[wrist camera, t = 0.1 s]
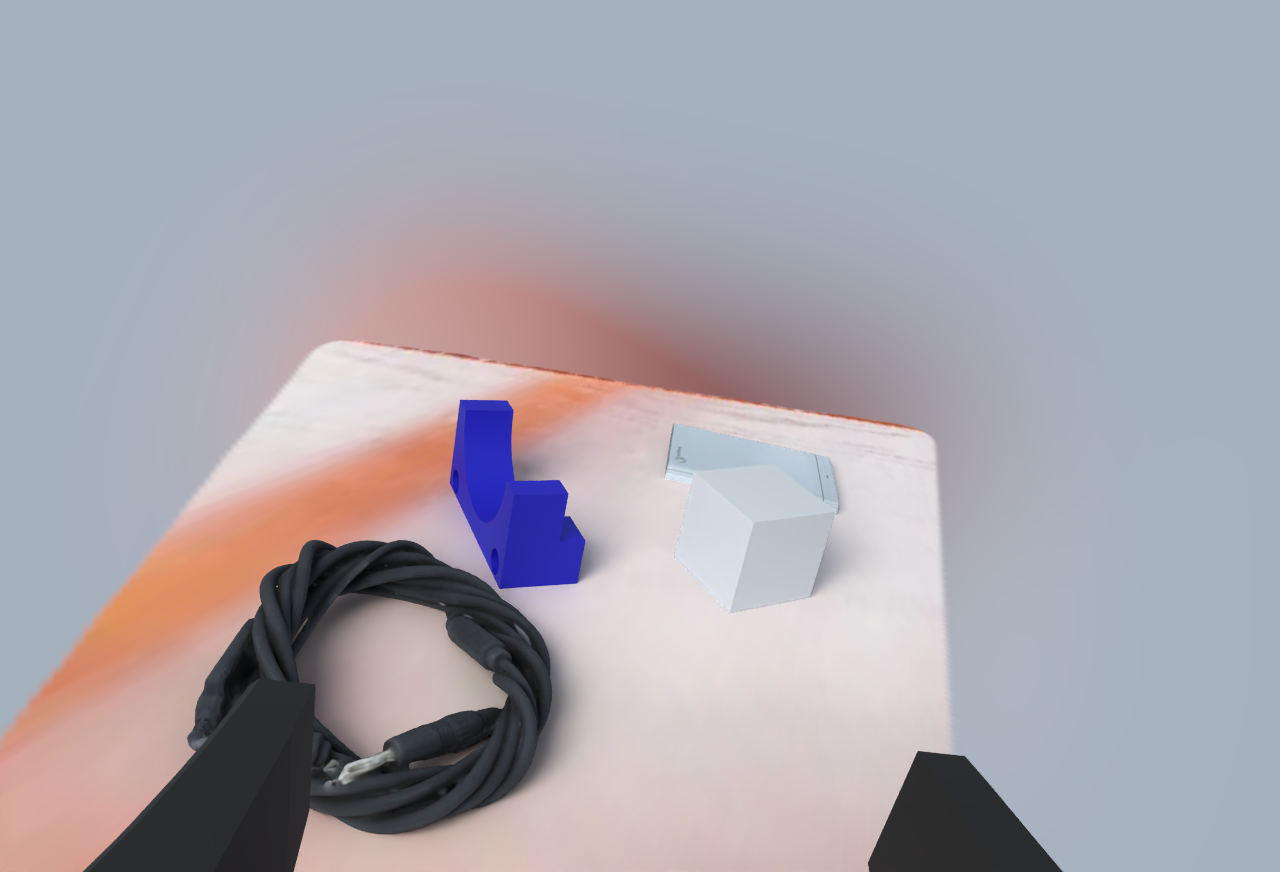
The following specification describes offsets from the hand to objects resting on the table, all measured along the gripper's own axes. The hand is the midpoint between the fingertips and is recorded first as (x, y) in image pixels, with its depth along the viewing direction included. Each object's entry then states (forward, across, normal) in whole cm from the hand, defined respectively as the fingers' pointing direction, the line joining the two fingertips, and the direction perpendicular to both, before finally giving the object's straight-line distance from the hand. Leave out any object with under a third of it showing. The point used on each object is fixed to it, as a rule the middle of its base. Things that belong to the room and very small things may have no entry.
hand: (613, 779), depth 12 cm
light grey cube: (+39, -13, +25) cm, 48 cm away
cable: (+26, +5, +24) cm, 36 cm away
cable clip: (+41, +1, +25) cm, 48 cm away
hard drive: (+54, -16, +26) cm, 62 cm away
